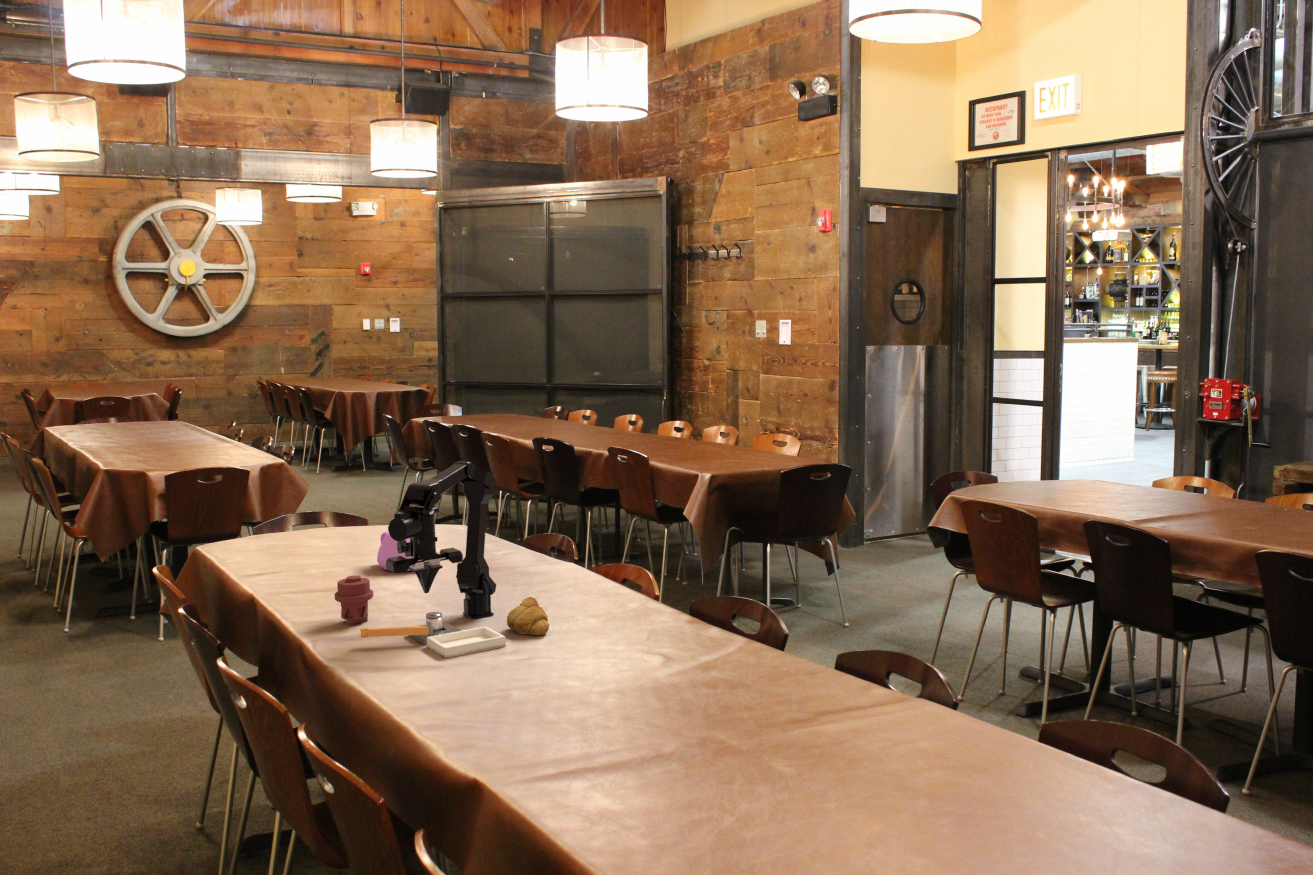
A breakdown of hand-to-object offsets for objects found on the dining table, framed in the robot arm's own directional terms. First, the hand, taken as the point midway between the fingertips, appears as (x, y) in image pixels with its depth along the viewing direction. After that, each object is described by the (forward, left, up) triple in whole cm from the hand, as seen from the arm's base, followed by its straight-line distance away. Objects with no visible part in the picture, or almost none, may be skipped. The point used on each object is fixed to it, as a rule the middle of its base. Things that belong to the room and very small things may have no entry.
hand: (426, 592), depth 274 cm
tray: (-5, +13, -12) cm, 18 cm away
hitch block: (-2, +1, -12) cm, 12 cm away
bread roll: (-23, +11, -12) cm, 28 cm away
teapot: (-27, -77, -12) cm, 83 cm away
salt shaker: (-2, +1, -12) cm, 12 cm away
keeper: (+9, +1, -9) cm, 13 cm away
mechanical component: (+10, -24, -12) cm, 29 cm away
